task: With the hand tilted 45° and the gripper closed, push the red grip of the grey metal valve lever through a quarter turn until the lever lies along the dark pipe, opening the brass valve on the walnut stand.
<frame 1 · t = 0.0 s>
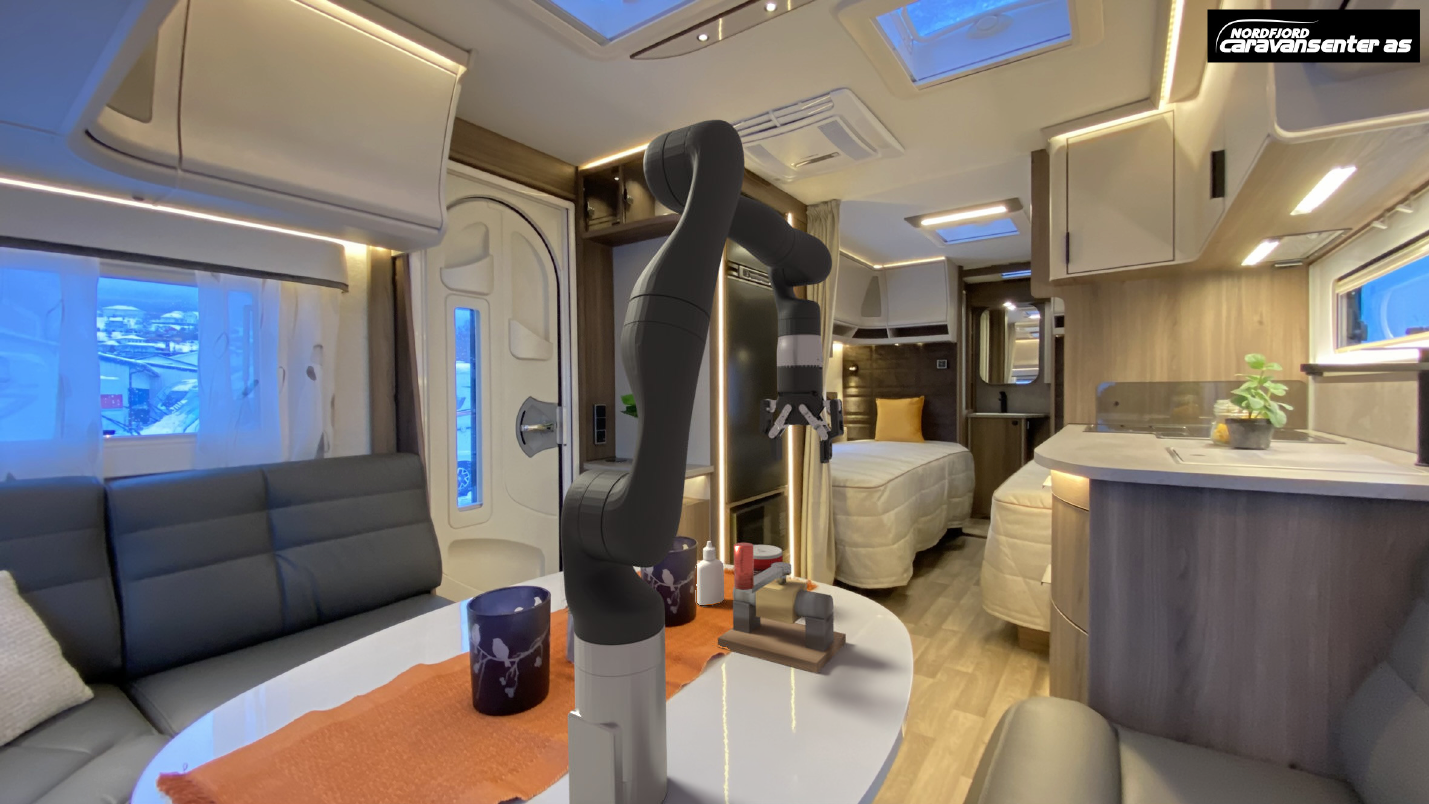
hand: (800, 461, 98), 29 cm above the table, tool pointing down, fingers open, 8 cm apart
canned food: (762, 608, 112), on the table
valve stand: (782, 645, 95), on the table
valve lever: (763, 564, 90), point 15 cm above the table, hinge at 0.0°
eye dropper bottle: (710, 603, 115), on the table
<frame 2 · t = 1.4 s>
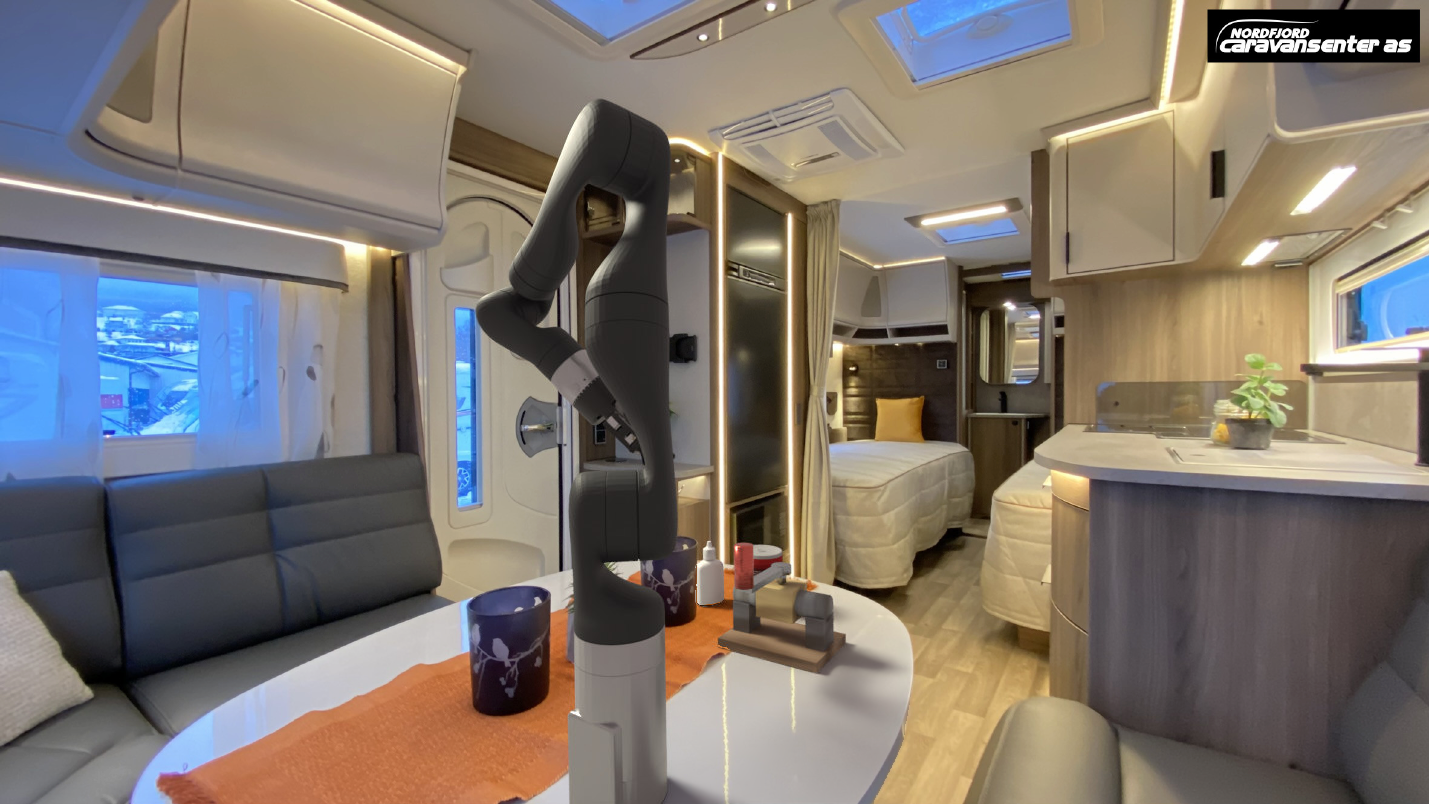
hand: (668, 464, 88), 30 cm above the table, tool tilted 45°, fingers open, 7 cm apart
nothing on the table moved.
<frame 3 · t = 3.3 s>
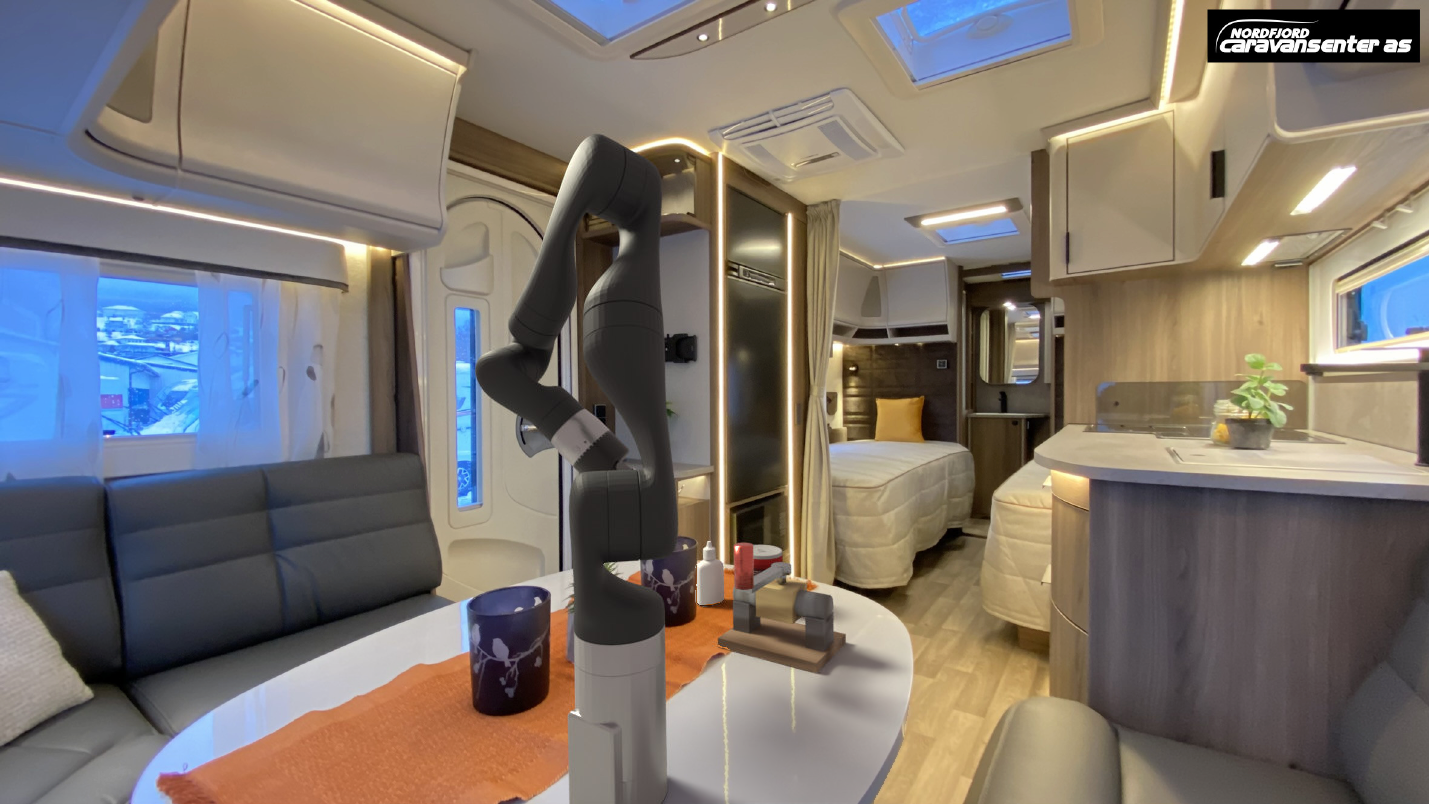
hand: (673, 528, 87), 21 cm above the table, tool tilted 45°, fingers closed
nothing on the table moved.
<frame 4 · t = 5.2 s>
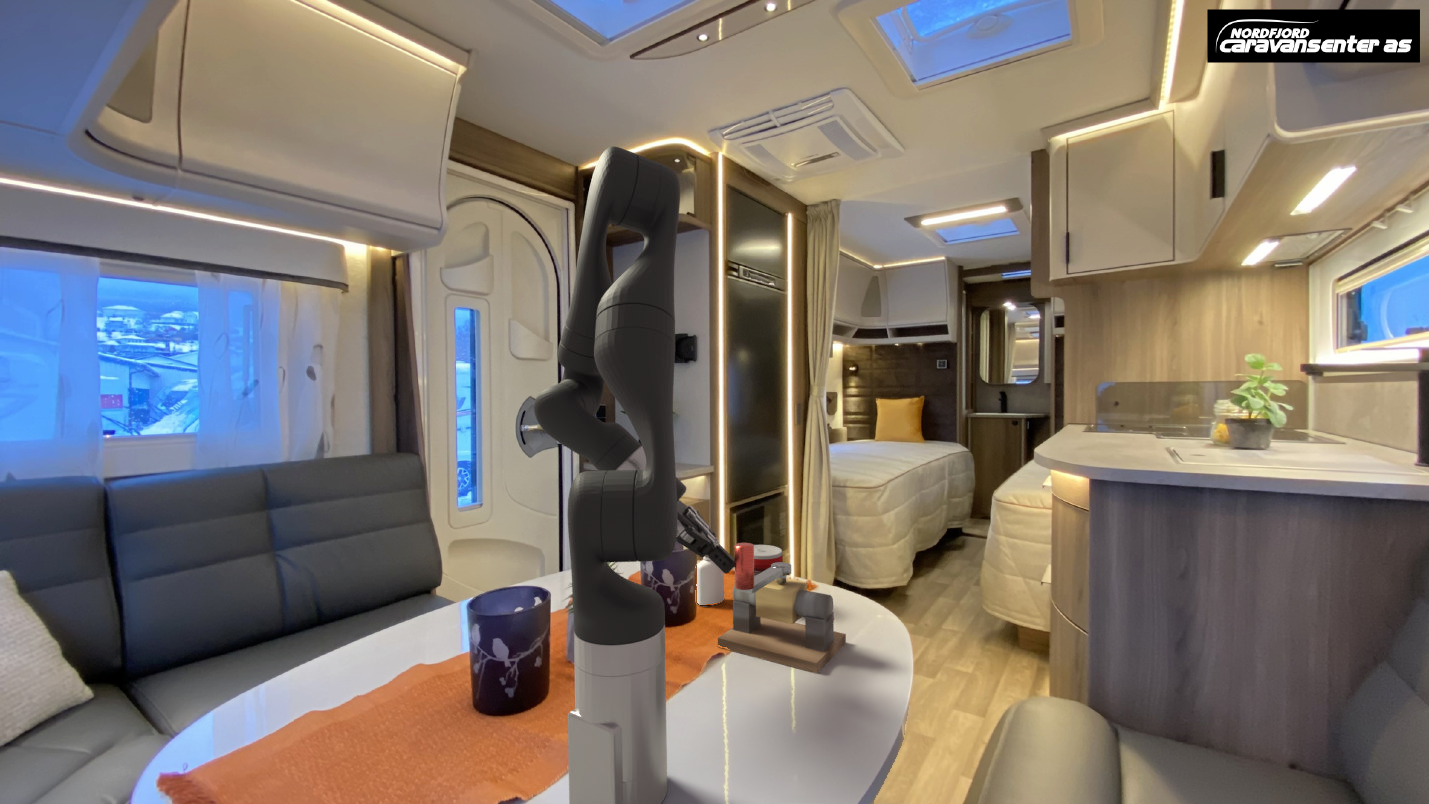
hand: (731, 567, 86), 15 cm above the table, tool tilted 45°, fingers closed
valve lever: (764, 564, 90), point 15 cm above the table, hinge at 0.4°, touching gripper
everything else where it was.
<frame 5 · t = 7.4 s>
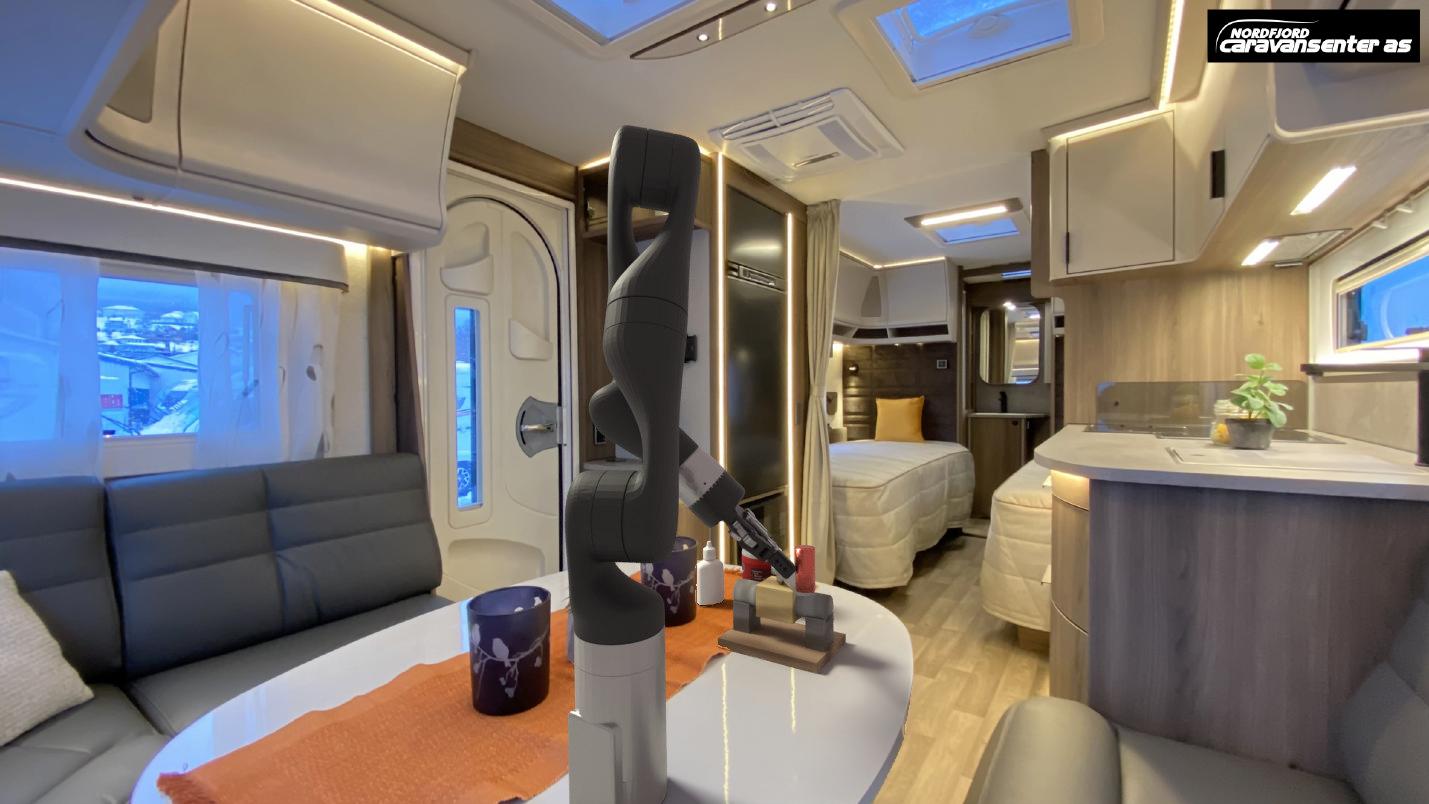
hand: (791, 573, 83), 15 cm above the table, tool tilted 45°, fingers closed
valve lever: (792, 565, 89), point 15 cm above the table, hinge at 42.8°, touching gripper
everything else where it was.
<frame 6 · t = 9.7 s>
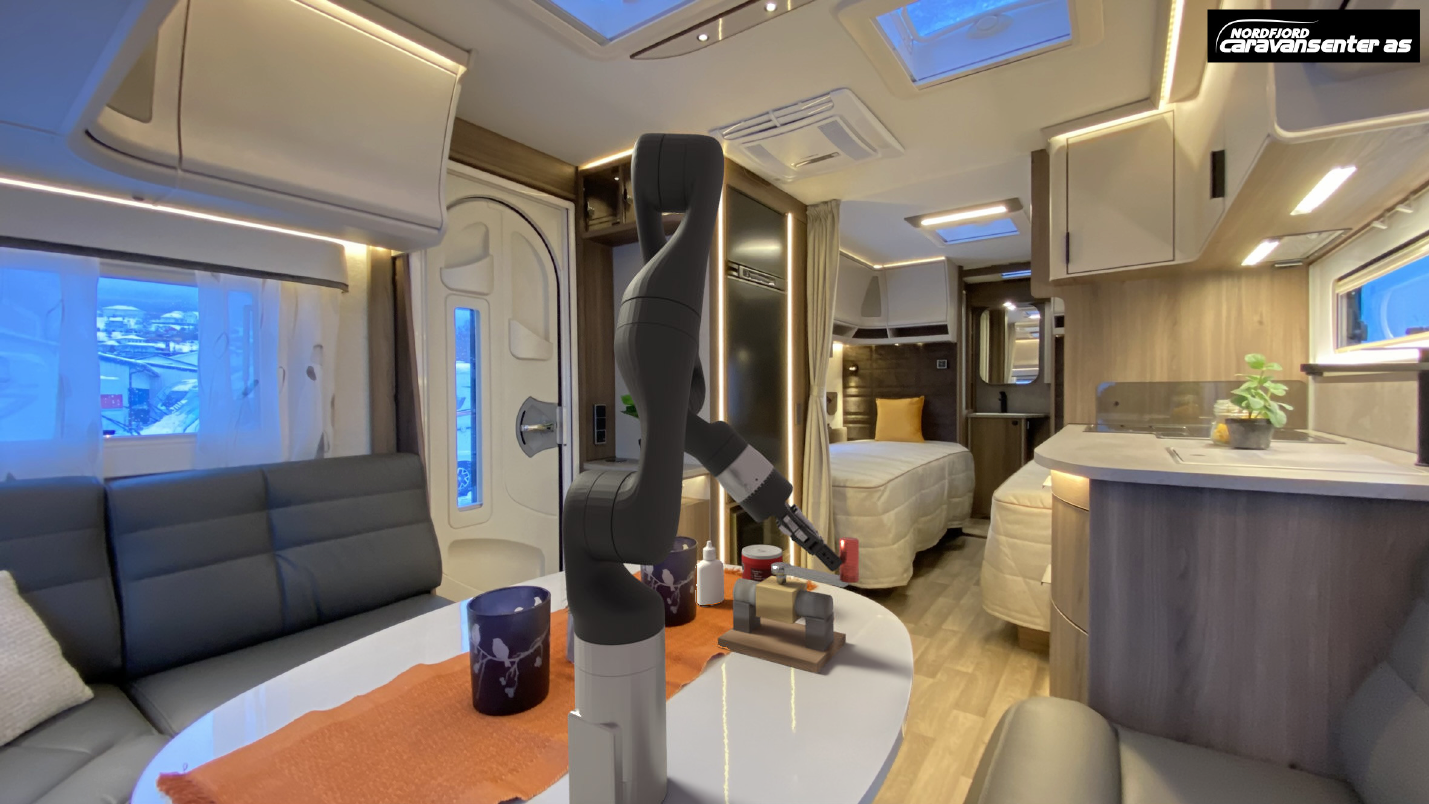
hand: (837, 565, 86), 15 cm above the table, tool tilted 45°, fingers closed
valve lever: (813, 561, 91), point 15 cm above the table, hinge at 82.9°, touching gripper
everything else where it was.
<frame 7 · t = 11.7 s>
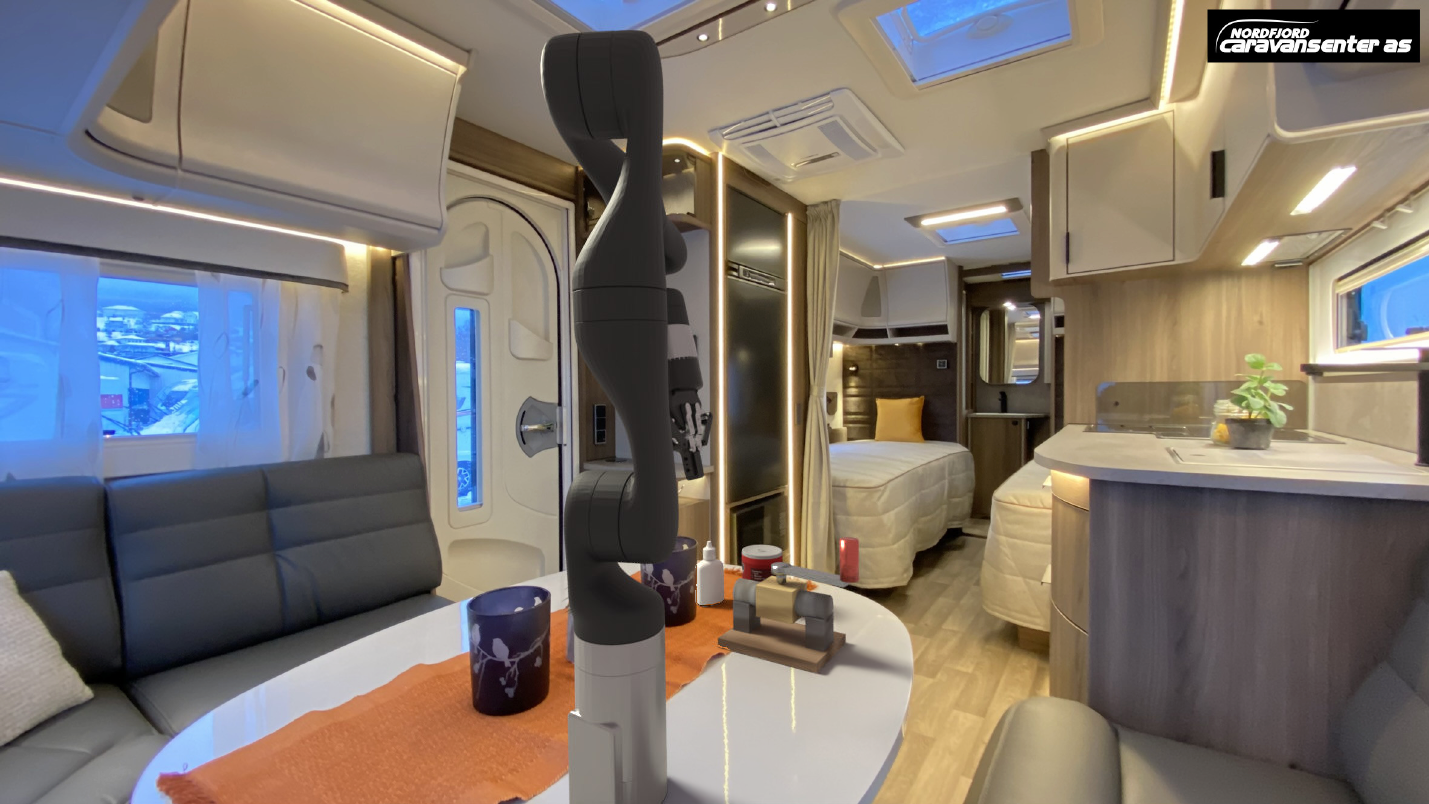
hand: (695, 478, 84), 29 cm above the table, tool pointing down, fingers closed
valve lever: (813, 561, 91), point 15 cm above the table, hinge at 83.1°
everything else where it was.
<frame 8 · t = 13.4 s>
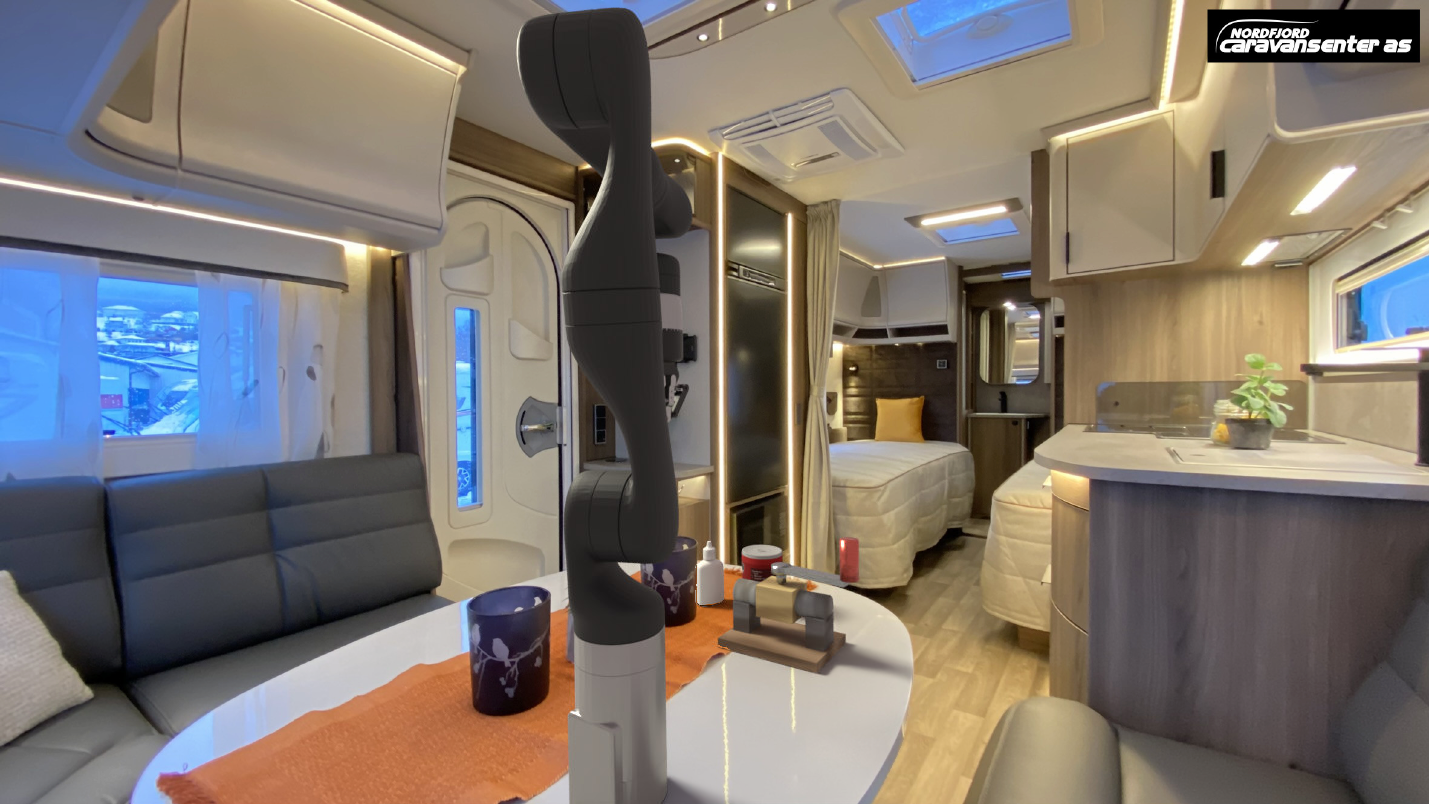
hand: (658, 448, 85), 33 cm above the table, tool pointing down, fingers closed
nothing on the table moved.
at the end: valve lever at +83° (first picture: +0°) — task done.
